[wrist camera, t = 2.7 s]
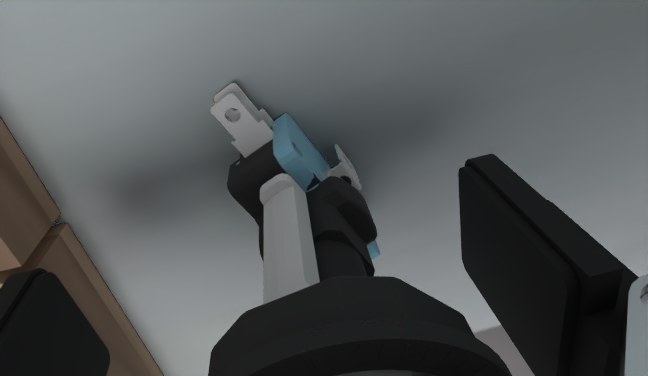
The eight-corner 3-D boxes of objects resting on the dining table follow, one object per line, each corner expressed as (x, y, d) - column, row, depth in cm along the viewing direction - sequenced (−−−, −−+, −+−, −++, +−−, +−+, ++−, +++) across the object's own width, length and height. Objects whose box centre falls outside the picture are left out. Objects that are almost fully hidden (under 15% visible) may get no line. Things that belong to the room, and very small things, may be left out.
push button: (157, 134, 13) (-48, 519, 4) (301, 25, 12) (397, 256, 3) (290, 265, 16) (321, 638, 8) (413, 188, 15) (610, 522, 7)
